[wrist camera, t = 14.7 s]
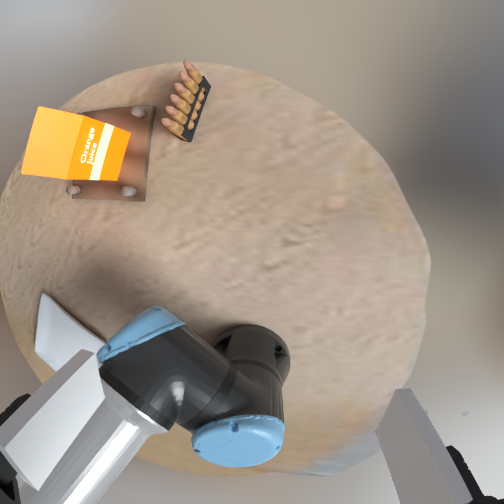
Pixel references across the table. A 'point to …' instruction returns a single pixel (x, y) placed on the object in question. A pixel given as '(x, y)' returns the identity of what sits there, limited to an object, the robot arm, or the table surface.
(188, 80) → the ammunition clip
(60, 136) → the orange juice
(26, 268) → the table surface
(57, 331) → the salad plate
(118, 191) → the peg stand
